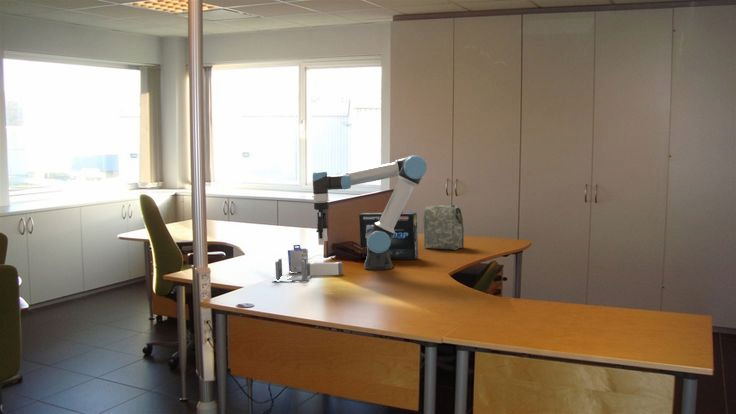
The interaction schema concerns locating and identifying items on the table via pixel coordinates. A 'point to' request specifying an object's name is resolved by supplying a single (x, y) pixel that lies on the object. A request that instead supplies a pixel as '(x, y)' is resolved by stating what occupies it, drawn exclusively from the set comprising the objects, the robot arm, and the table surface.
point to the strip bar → (325, 268)
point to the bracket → (296, 277)
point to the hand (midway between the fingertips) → (323, 242)
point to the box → (403, 239)
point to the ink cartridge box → (296, 258)
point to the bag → (443, 227)
